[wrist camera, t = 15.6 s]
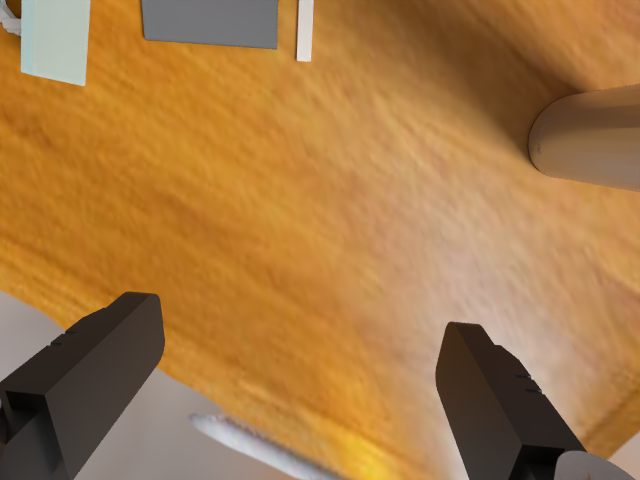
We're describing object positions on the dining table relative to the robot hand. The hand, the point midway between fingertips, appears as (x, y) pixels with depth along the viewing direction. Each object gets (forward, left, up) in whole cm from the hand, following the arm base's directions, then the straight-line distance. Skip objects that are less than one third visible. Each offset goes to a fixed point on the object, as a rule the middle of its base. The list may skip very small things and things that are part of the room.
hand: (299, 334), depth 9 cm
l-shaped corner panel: (+31, -16, -33) cm, 48 cm away
